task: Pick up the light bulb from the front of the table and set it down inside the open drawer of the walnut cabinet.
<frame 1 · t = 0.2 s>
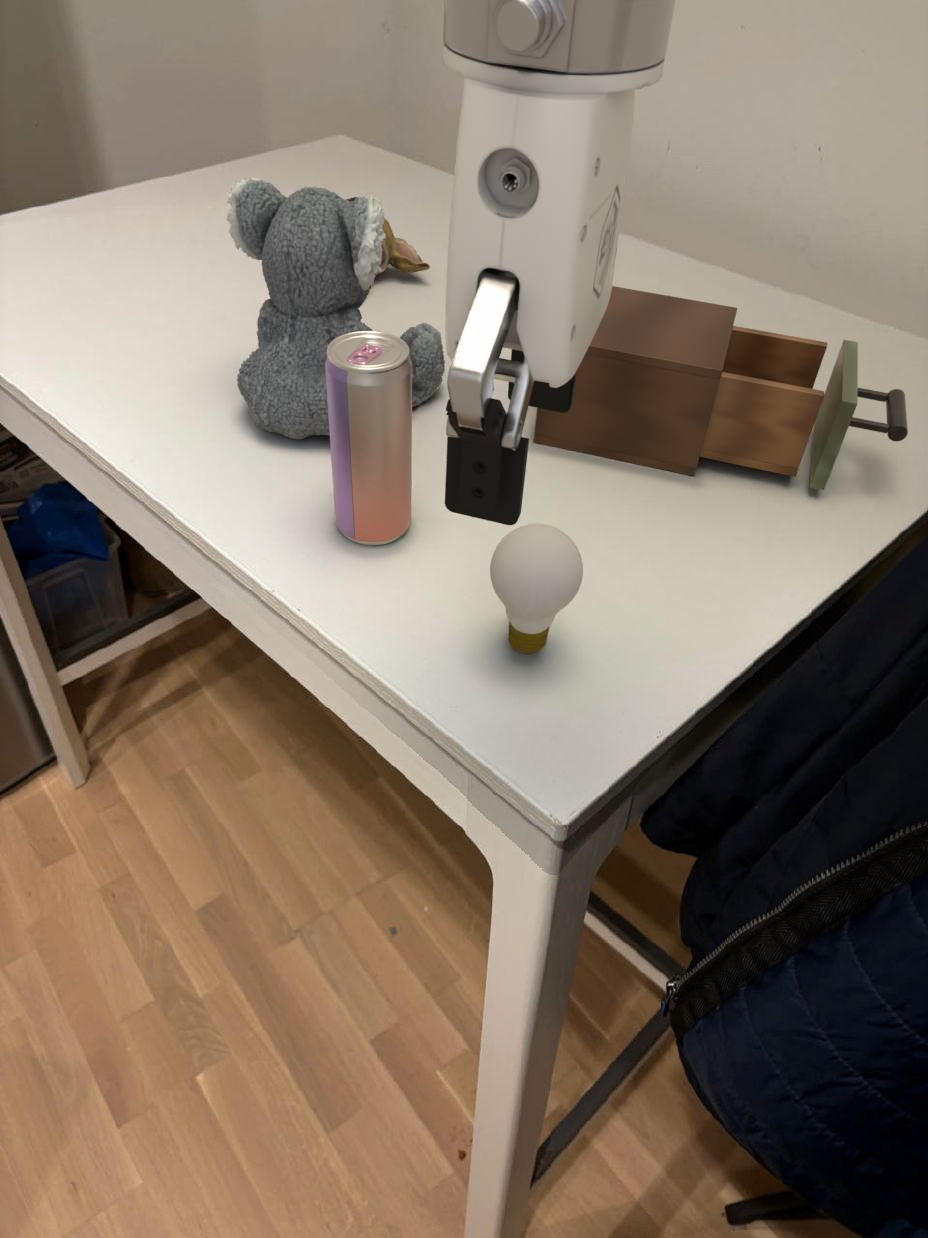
hand: (513, 455, 41), 21 cm above the table, tool pointing down, fingers open, 9 cm apart
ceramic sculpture: (361, 274, 107), on the table
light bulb: (525, 650, 62), on the table
cabinet: (625, 424, 84), on the table
beverage can: (373, 527, 71), on the table
koala plush: (329, 404, 85), on the table
drawer: (790, 405, 78), point 5 cm above the table, slide at 9.5 cm
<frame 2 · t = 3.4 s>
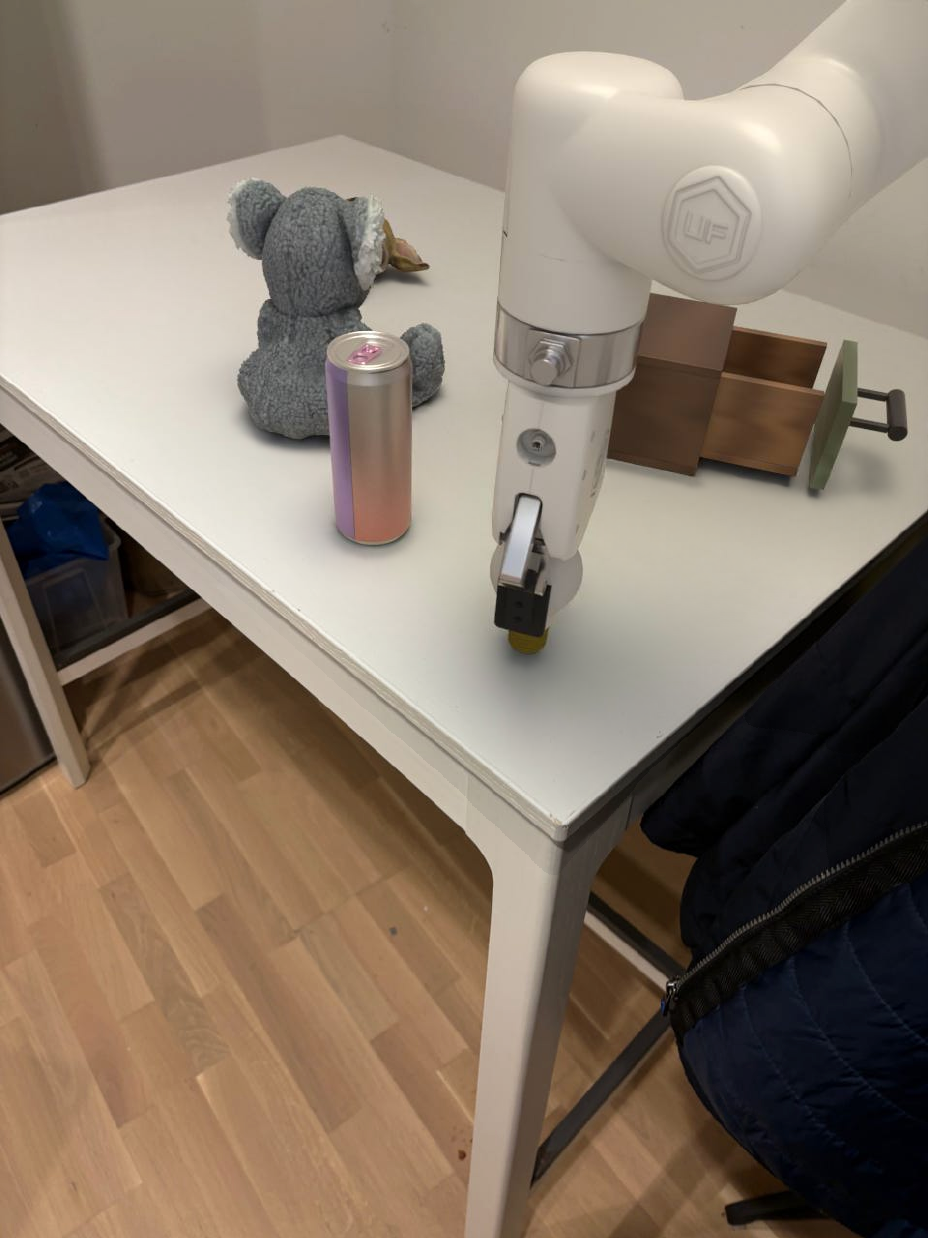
hand: (533, 594, 59), 5 cm above the table, tool pointing down, fingers closed on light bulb, 5 cm apart
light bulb: (525, 650, 62), on the table, touching gripper
everything else where it was.
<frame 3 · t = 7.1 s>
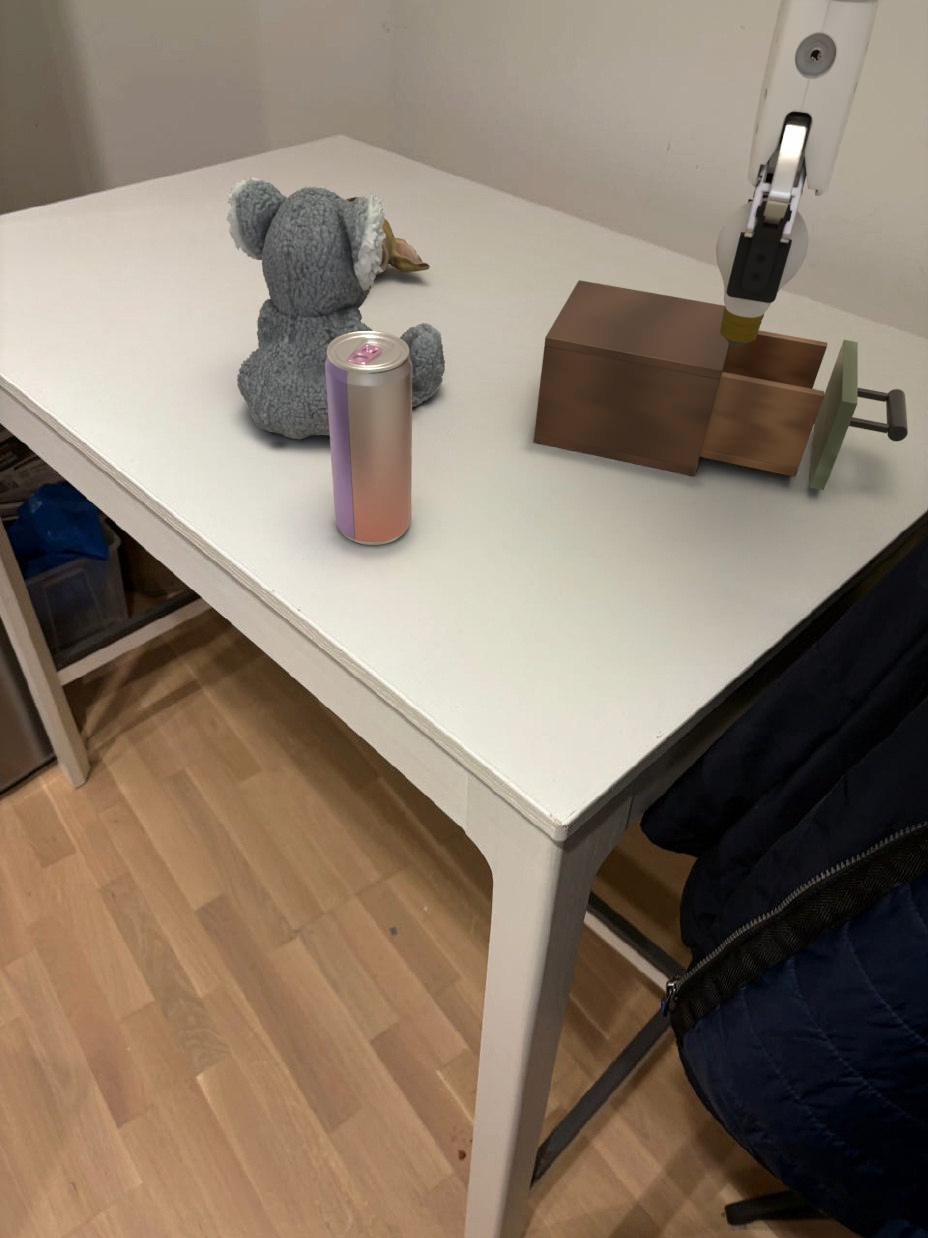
hand: (753, 276, 62), 19 cm above the table, tool pointing down, fingers closed on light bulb, 5 cm apart
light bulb: (734, 346, 65), point 14 cm above the table, touching gripper
everything else where it was.
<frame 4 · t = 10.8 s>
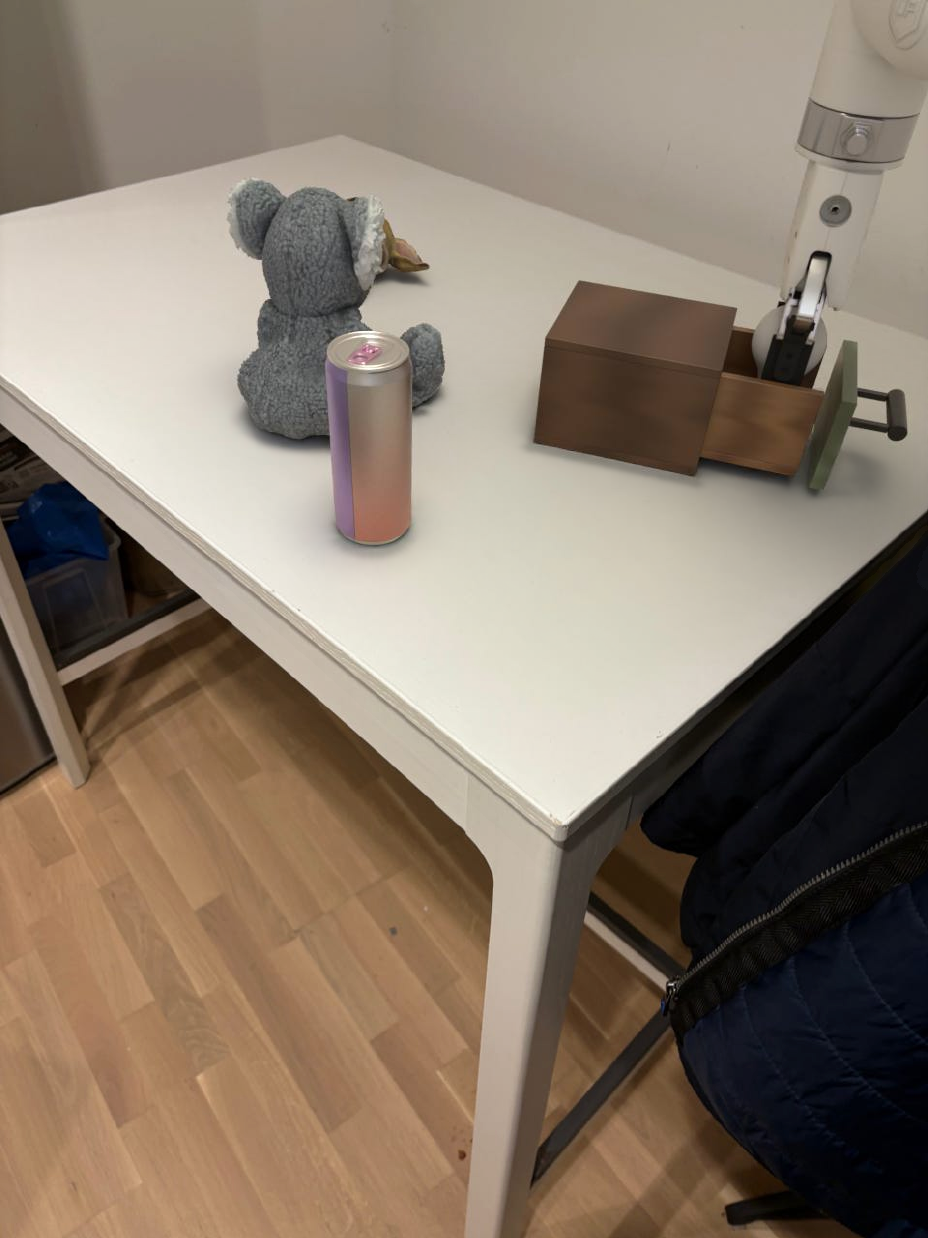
hand: (782, 364, 76), 9 cm above the table, tool pointing down, fingers closed on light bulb, 5 cm apart
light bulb: (765, 418, 80), point 3 cm above the table, touching gripper
drawer: (790, 405, 78), point 5 cm above the table, slide at 9.5 cm, touching gripper
everything else where it was.
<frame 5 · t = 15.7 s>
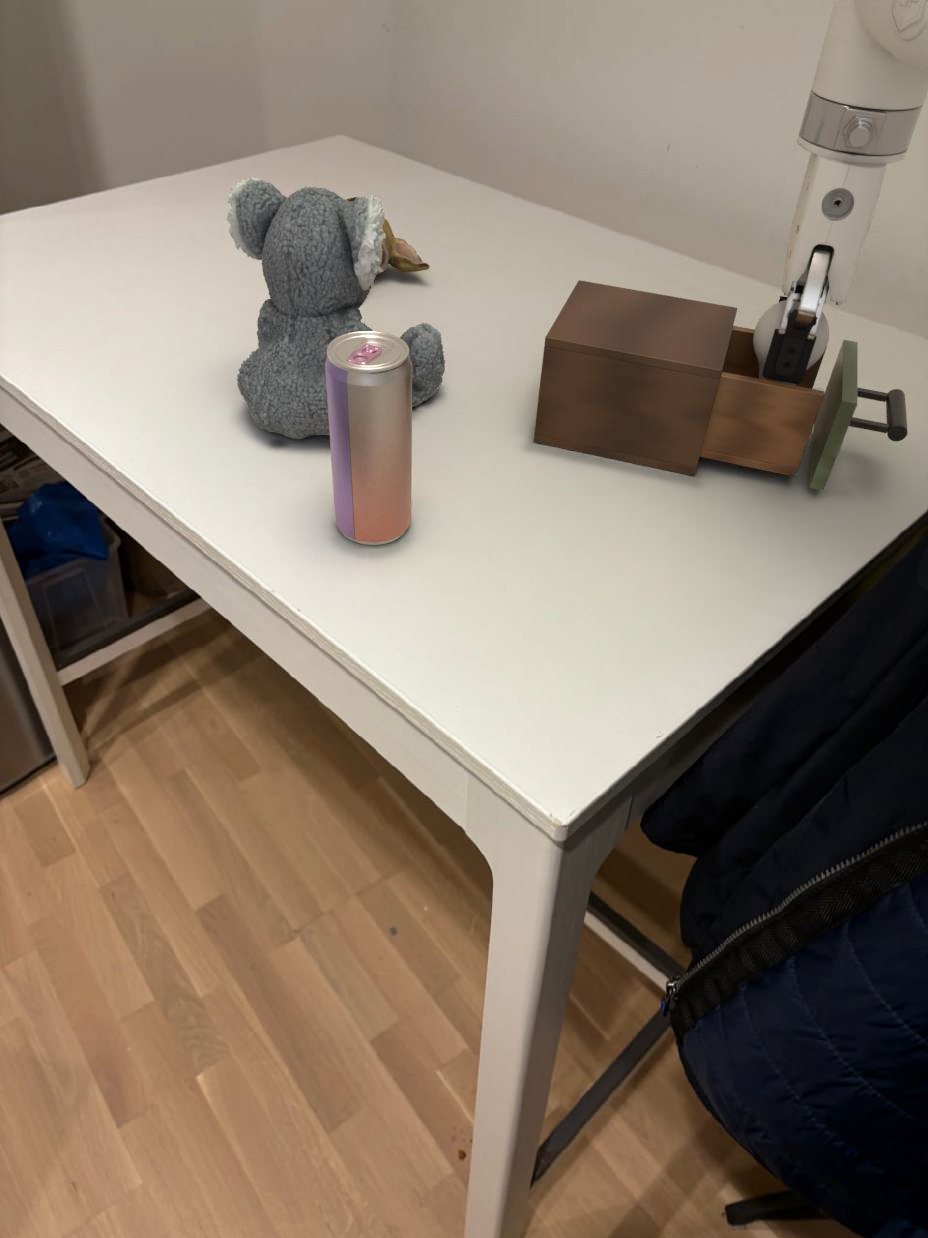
hand: (784, 359, 76), 9 cm above the table, tool pointing down, fingers closed on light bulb, 5 cm apart
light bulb: (766, 413, 79), point 4 cm above the table, touching gripper
drawer: (790, 405, 78), point 5 cm above the table, slide at 9.5 cm
everything else where it was.
when the fingers open (10 cm above the table, at t = 20.3 s): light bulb drops 3 cm, resting on drawer.
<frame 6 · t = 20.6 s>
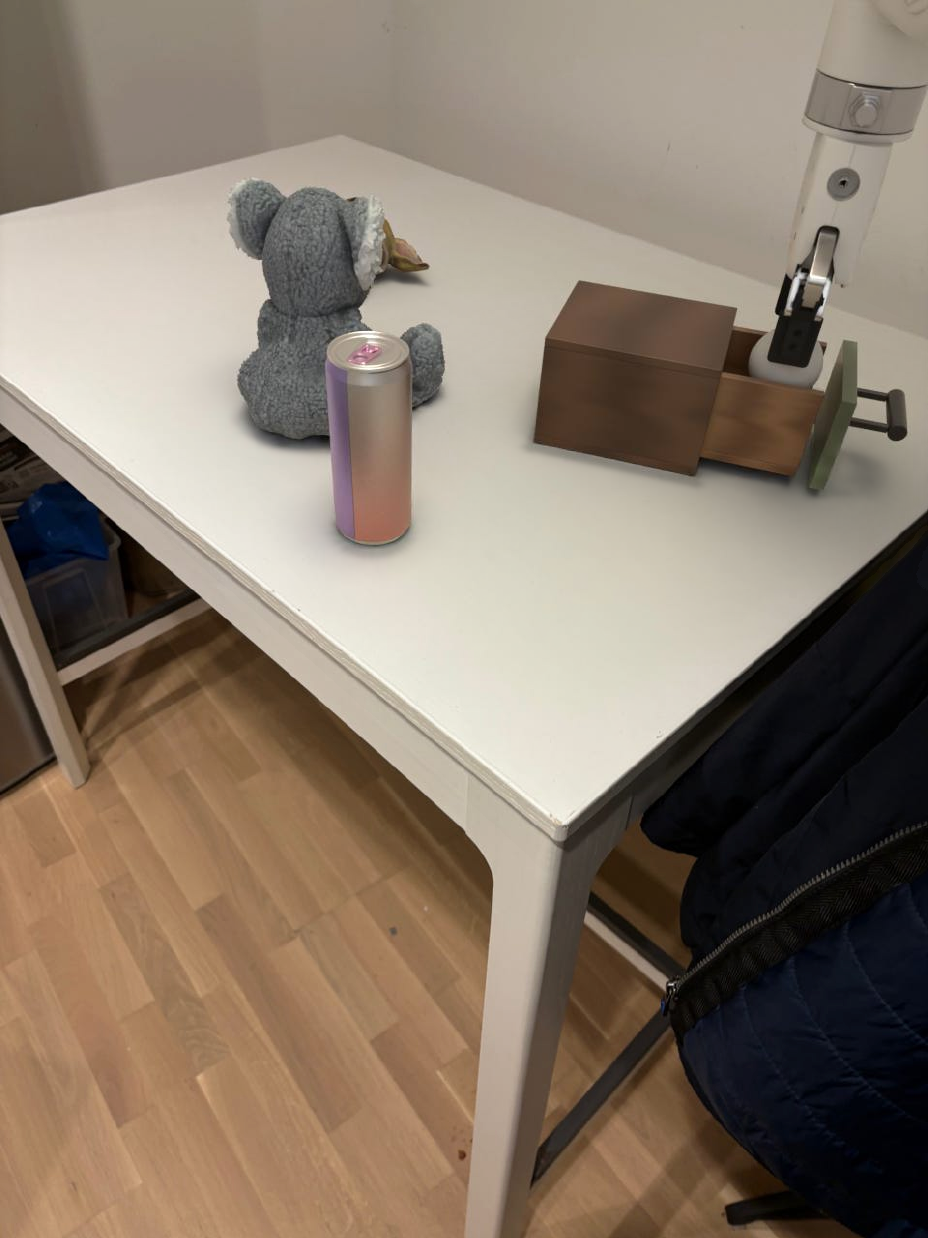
hand: (790, 338, 74), 11 cm above the table, tool pointing down, fingers open, 8 cm apart
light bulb: (761, 435, 80), point 2 cm above the table, touching drawer
drawer: (790, 405, 78), point 5 cm above the table, slide at 9.5 cm, touching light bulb
everything else where it was.
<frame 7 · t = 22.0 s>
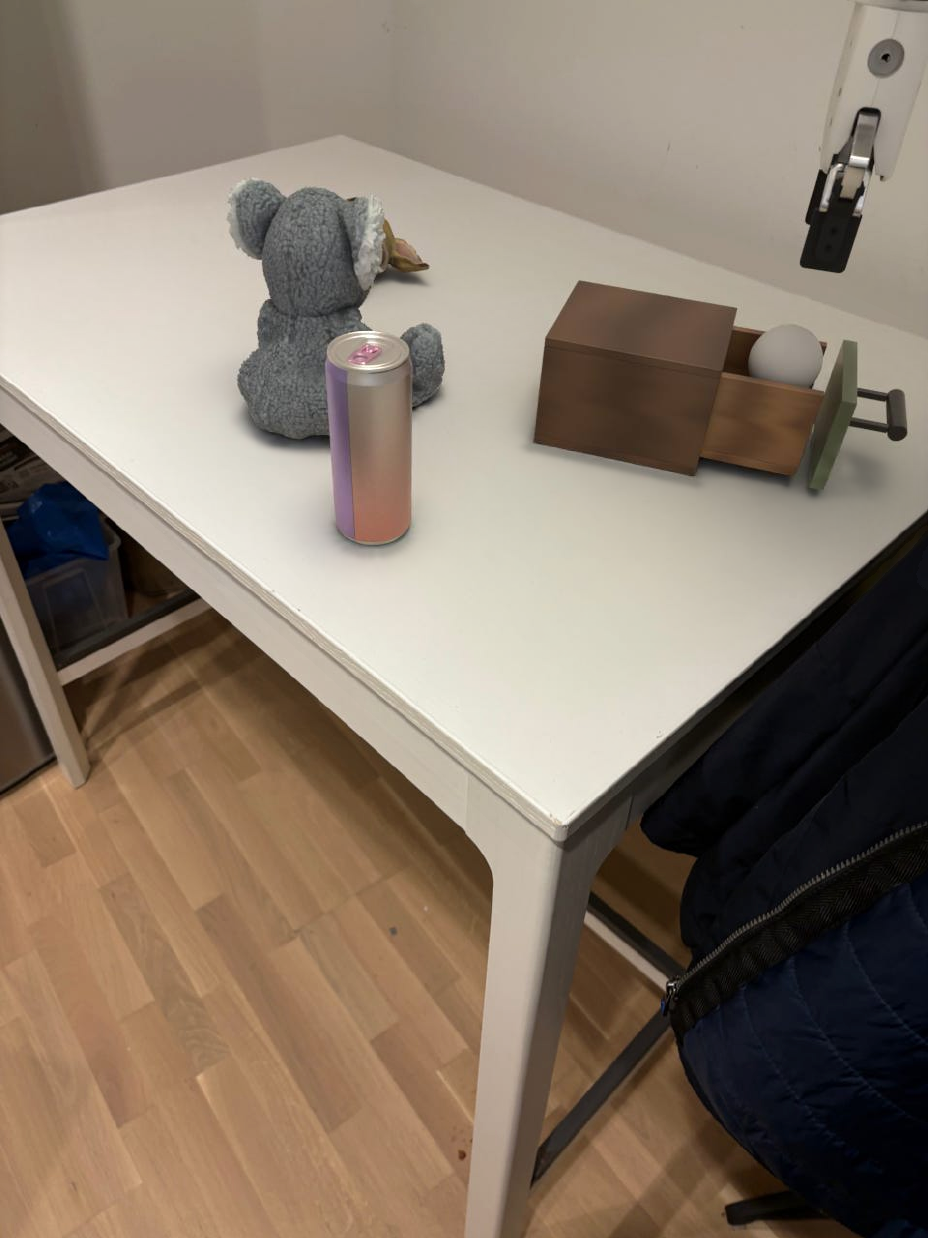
hand: (822, 246, 69), 19 cm above the table, tool pointing down, fingers open, 9 cm apart
nothing on the table moved.
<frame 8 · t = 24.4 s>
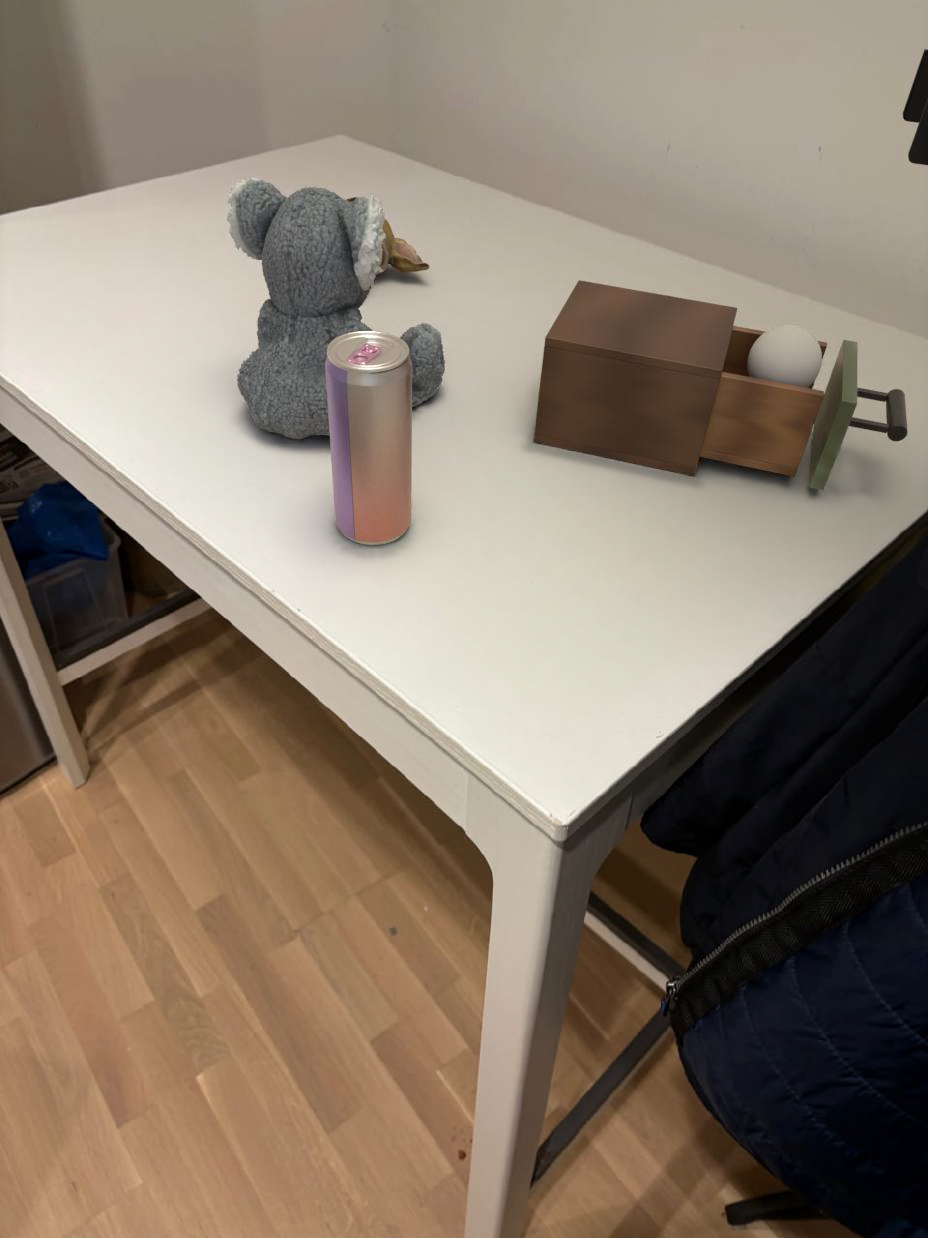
nothing on the table moved.
at the end: drawer slide at 9.5 cm; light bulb inside the target area in the drawer (6.4 cm from its centre), point 1.8 cm above the cabinet's base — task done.
